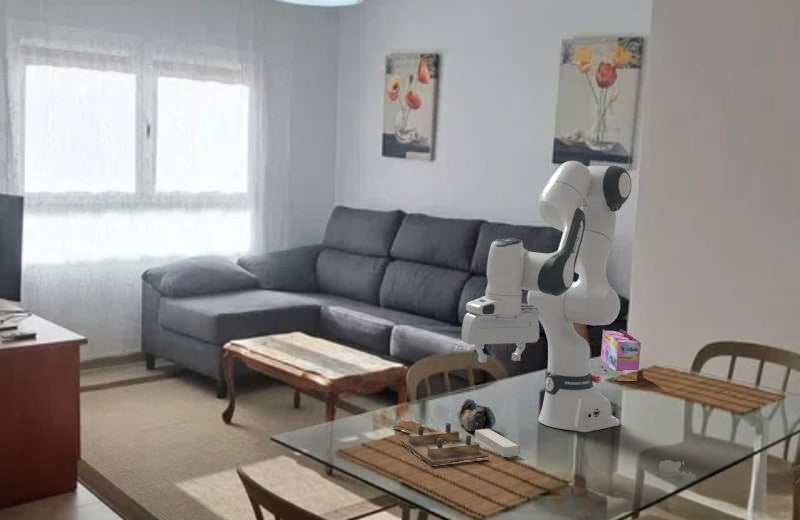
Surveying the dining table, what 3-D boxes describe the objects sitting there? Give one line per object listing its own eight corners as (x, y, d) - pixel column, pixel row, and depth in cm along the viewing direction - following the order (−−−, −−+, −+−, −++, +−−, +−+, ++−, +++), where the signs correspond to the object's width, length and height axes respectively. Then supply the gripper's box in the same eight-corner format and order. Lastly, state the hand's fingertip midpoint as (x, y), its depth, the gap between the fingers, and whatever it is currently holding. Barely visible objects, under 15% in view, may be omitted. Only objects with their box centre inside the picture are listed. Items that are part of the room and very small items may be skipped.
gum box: (598, 365, 315) (601, 328, 313) (620, 366, 315) (623, 329, 313) (614, 381, 291) (617, 341, 289) (638, 382, 291) (641, 342, 290)
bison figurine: (464, 420, 238) (440, 425, 231) (467, 395, 238) (442, 399, 231) (499, 432, 230) (475, 437, 223) (502, 406, 230) (478, 410, 222)
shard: (421, 440, 220) (421, 433, 220) (390, 438, 220) (391, 431, 220) (422, 427, 231) (422, 421, 231) (393, 426, 231) (393, 419, 231)
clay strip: (488, 440, 223) (488, 428, 222) (517, 457, 210) (518, 445, 210) (474, 441, 221) (475, 429, 221) (503, 459, 208) (504, 447, 208)
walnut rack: (453, 438, 221) (454, 418, 221) (488, 460, 206) (489, 438, 205) (400, 444, 215) (401, 423, 214) (431, 467, 199) (432, 444, 199)
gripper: (532, 302, 219) (528, 356, 220) (460, 303, 211) (456, 360, 212) (546, 306, 213) (542, 362, 215) (472, 307, 205) (469, 365, 206)
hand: (499, 361), depth 213 cm, fingers open, 8 cm apart
